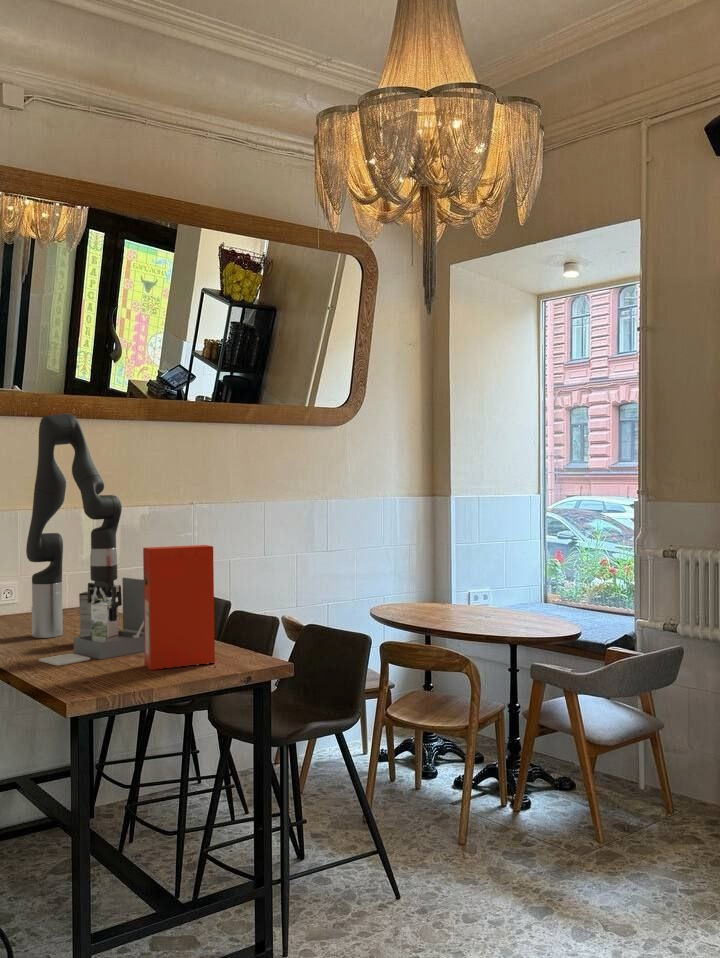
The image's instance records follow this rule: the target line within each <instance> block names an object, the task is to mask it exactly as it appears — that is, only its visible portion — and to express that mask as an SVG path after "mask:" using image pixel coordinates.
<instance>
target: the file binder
mask: <svg viewBox="0 0 720 958" xmlns="http://www.w3.org/2000/svg"><path fill="white" fill-rule="evenodd" d="M142 549H143V550H142V555H143V556H142V557H143V559H142V561H143V564H142V565H143V580H144V650H145V652H144V666H145V667H146V668H147V669H148V670H149V671H157V669H158V670H164V668H168V669H174V668H173V667H177V668H182V667H181V666H187V667H189V666H188V665H196V666H198V665H197V664H206V665H208V664H207V663H214V664H215V663H216V658H215V656H216V655H215V653H216V652H215V646H216V645H215V593H214V592H215V586H214V585H215V584H214V583H215V580H214V577H215V575H214V572H215V571H214V546H213V545H208V544H196V545H178V546H177V545H174V546H152V547H148V546H147V547H143V548H142Z"/></svg>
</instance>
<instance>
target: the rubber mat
mask: <svg viewBox="0 0 720 958" xmlns="http://www.w3.org/2000/svg"><path fill="white" fill-rule="evenodd" d="M90 660H91V657H87V656H83V655H79V654H74V653H72V652H70V653H65V654H59V655H53V656H48V657H42V658H38V662H42V663H46V664H49V665H54V666H62V665H63V666H64V665H68V664H73V663H74V664H75V663H80V662H84V661H85V662H86V661H90Z"/></svg>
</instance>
